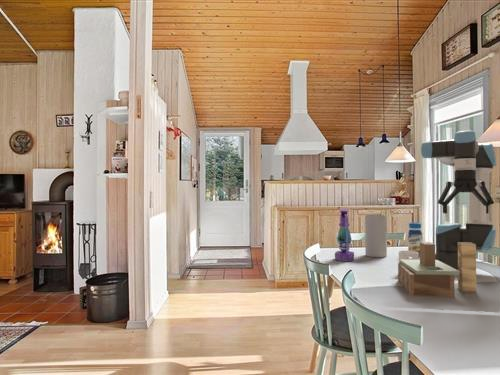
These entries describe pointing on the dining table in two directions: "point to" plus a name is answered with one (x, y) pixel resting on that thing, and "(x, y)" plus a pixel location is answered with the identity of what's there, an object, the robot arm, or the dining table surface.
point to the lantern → (344, 239)
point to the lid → (428, 262)
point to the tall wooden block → (467, 267)
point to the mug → (408, 255)
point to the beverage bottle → (414, 237)
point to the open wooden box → (425, 283)
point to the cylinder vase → (376, 235)
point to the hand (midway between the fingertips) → (465, 221)
